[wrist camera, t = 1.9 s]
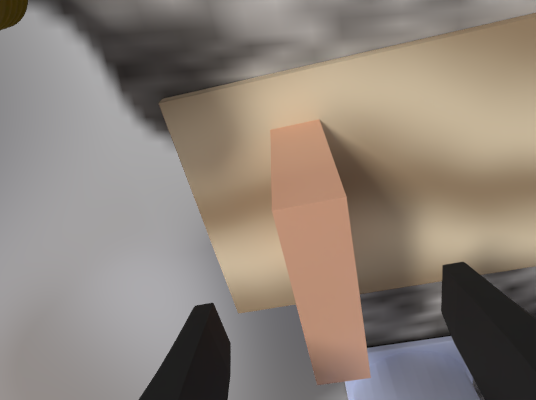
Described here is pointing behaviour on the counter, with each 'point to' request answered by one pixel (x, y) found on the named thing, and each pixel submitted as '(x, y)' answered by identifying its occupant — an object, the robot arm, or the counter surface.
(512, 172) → the mat
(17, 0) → the light bulb
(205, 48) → the counter surface
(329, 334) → the tile
